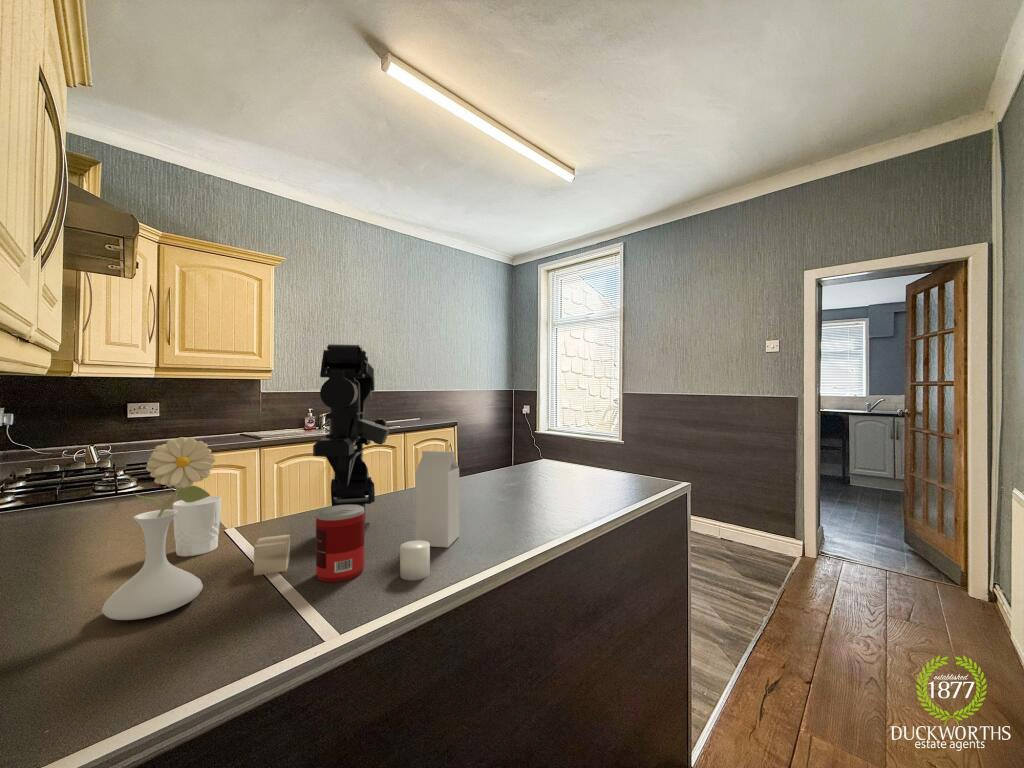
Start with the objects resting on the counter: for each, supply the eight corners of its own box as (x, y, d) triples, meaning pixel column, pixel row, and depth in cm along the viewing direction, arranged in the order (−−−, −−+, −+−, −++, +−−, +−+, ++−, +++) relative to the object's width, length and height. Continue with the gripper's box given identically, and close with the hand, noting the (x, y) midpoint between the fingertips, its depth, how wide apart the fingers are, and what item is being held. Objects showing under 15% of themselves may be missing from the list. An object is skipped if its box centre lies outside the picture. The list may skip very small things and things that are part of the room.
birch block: (259, 565, 79) (259, 537, 79) (289, 561, 81) (289, 534, 81) (253, 576, 74) (254, 547, 74) (286, 571, 76) (286, 543, 76)
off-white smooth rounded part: (402, 569, 77) (402, 540, 77) (430, 567, 77) (430, 539, 77) (398, 581, 72) (398, 551, 72) (428, 579, 72) (428, 549, 72)
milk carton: (448, 548, 86) (447, 454, 87) (415, 546, 88) (415, 453, 88) (459, 536, 93) (459, 449, 94) (429, 534, 95) (428, 448, 95)
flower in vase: (84, 637, 56) (86, 444, 56) (122, 598, 66) (124, 436, 66) (205, 615, 61) (206, 439, 61) (222, 583, 71) (223, 432, 72)
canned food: (373, 567, 77) (373, 506, 78) (342, 586, 70) (342, 518, 70) (339, 561, 80) (339, 502, 80) (305, 579, 72) (305, 514, 73)
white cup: (225, 550, 86) (225, 500, 87) (176, 561, 81) (177, 508, 81) (215, 540, 92) (215, 494, 92) (168, 551, 86) (169, 501, 86)
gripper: (377, 408, 77) (377, 496, 76) (394, 405, 95) (394, 476, 95) (312, 409, 76) (311, 498, 75) (342, 406, 94) (342, 477, 94)
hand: (344, 486), depth 85 cm, fingers closed
